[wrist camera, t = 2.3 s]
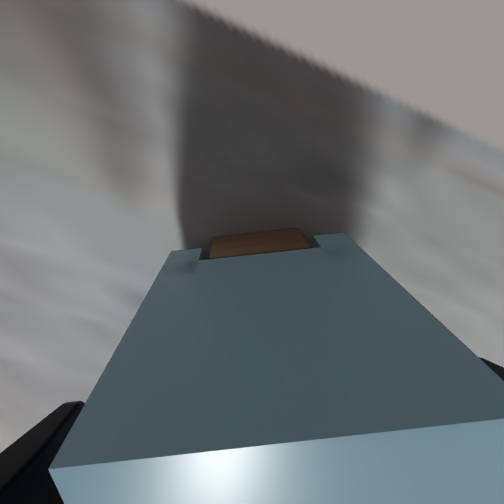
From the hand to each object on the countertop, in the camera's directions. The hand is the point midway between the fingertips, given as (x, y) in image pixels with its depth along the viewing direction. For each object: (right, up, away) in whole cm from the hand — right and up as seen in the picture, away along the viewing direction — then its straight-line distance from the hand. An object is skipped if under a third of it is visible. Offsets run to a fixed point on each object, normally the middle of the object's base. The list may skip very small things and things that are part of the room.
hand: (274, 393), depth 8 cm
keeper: (0, +2, +4) cm, 5 cm away
